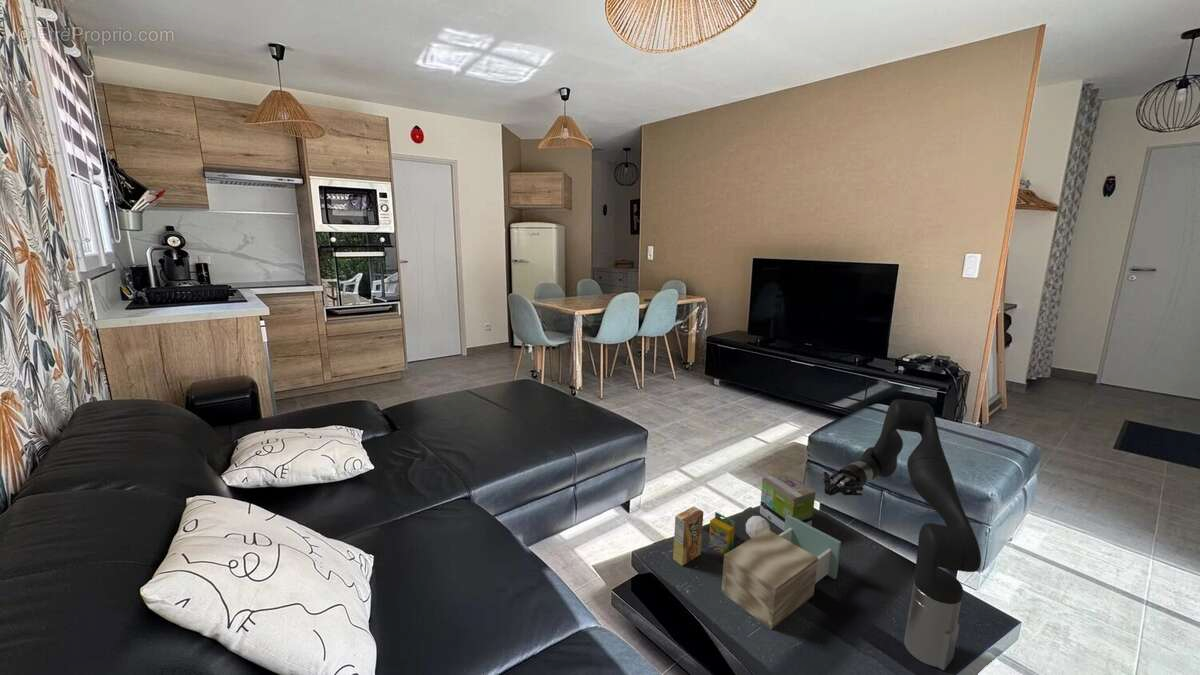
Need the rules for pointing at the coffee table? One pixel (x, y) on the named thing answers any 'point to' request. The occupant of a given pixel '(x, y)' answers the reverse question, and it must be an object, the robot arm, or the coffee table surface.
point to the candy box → (688, 535)
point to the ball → (756, 526)
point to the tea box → (786, 500)
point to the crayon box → (721, 534)
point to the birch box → (769, 577)
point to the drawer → (814, 545)
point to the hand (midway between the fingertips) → (827, 491)
